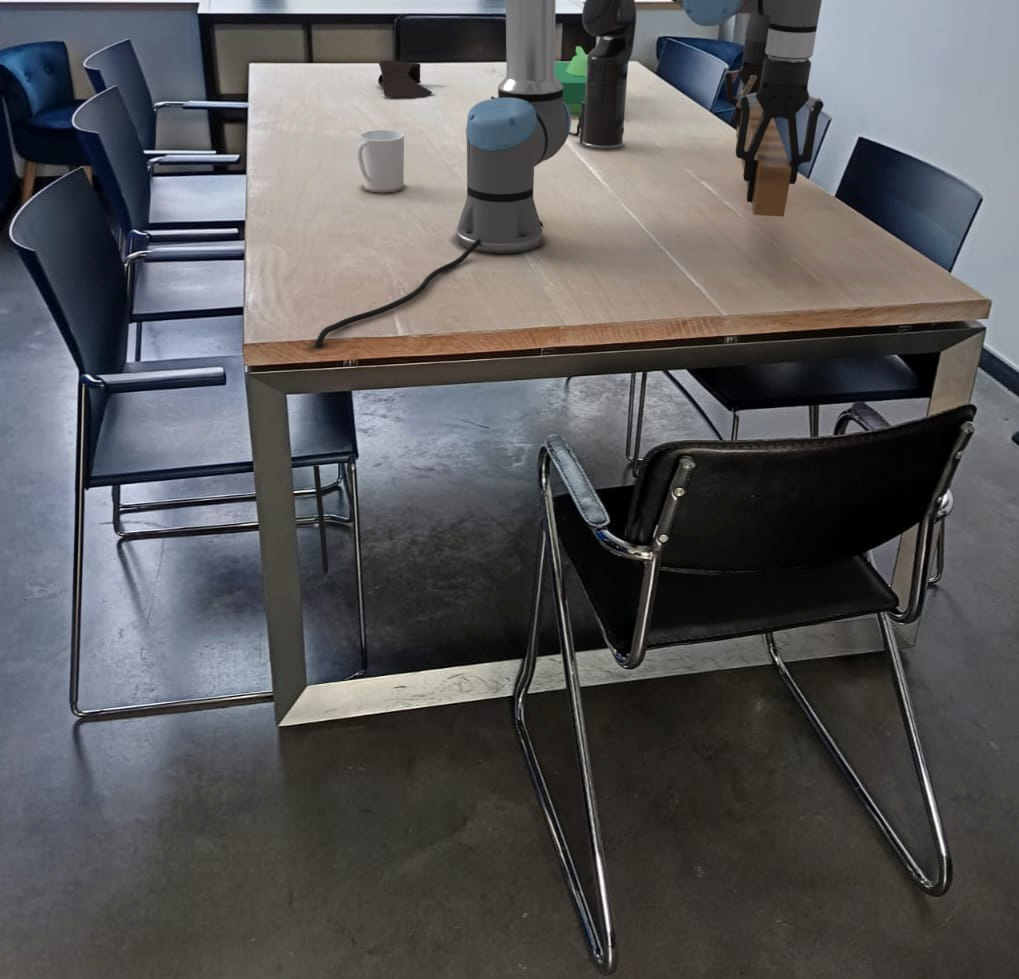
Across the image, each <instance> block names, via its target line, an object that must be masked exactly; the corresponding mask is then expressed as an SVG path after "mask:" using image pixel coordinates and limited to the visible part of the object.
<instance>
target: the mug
mask: <svg viewBox="0 0 1019 979" xmlns="http://www.w3.org/2000/svg"><path fill="white" fill-rule="evenodd" d="M356 157H357V161H358V166H359V169H360V172H361V174H362V184H363V188H364V189H365V190H366V191H369V192H372V193H383V194H385V193H393V192H398V191H400V190H402V189H403V187H404V177H405V176H404V174H405V170H404V169H405V168H404V166H405V134H404V133H403V132H401V131H397V130H393V129H372V130H365V131H362V132H360V133H359V134H358V145H357V150H356Z"/></svg>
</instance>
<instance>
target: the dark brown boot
mask: <svg viewBox="0 0 1019 979" xmlns="http://www.w3.org/2000/svg"><path fill="white" fill-rule="evenodd" d="M378 66H379V68H380V72H381V74H379V75H378V79H377V84H378V85H379V86H380V87H381V88H382V89H383V95H384V96H385V97H388V98H394V99H395V98H396V99H403V98H405V99H406V98H407V99H411V98H418V97H425V96H429V95H432V94H433V91H431V90H430V89H428V88H427V87H425V86H422V85H421V84H422V82H421V63H419V62H410V61H408V62H407V61H397V60H388V59H387V60H380V61H379V62H378Z"/></svg>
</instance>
